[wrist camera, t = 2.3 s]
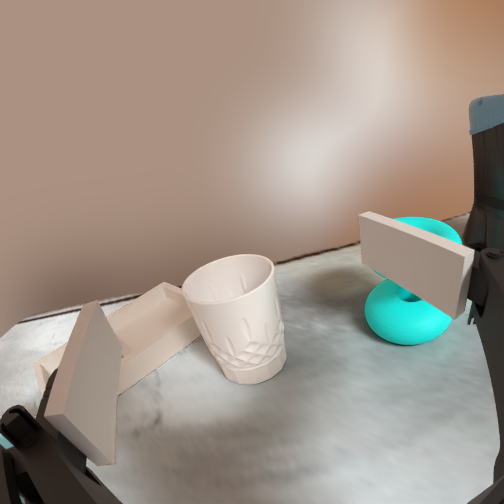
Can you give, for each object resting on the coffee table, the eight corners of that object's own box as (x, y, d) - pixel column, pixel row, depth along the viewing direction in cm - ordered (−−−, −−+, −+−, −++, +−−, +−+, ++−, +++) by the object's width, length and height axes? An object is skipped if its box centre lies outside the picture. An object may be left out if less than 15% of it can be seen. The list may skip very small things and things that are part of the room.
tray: (170, 298, 43) (164, 281, 42) (219, 320, 35) (212, 301, 34) (45, 379, 28) (34, 363, 27) (64, 432, 20) (47, 415, 19)
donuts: (339, 242, 24) (390, 208, 29) (346, 329, 28) (391, 284, 33) (447, 267, 16) (472, 221, 21) (429, 364, 20) (461, 305, 25)
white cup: (277, 396, 22) (251, 306, 19) (202, 381, 26) (163, 299, 22) (301, 337, 29) (286, 252, 25) (235, 332, 32) (210, 255, 28)
